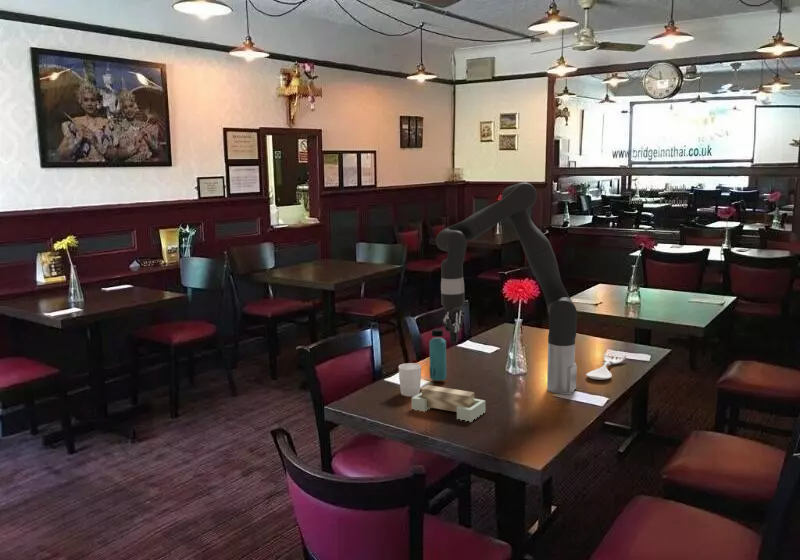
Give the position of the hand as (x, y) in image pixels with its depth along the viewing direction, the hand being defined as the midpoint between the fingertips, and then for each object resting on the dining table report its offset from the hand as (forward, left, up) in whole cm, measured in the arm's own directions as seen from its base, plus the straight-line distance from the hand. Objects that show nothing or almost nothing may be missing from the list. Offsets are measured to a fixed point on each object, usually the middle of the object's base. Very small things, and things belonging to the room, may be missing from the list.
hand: (454, 342), depth 219 cm
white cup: (+19, -2, -22) cm, 29 cm away
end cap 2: (-9, +6, -22) cm, 24 cm away
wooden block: (-1, +6, -21) cm, 21 cm away
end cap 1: (+8, +6, -22) cm, 24 cm away
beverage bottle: (+17, -18, -22) cm, 33 cm away
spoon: (-32, -62, -22) cm, 73 cm away
